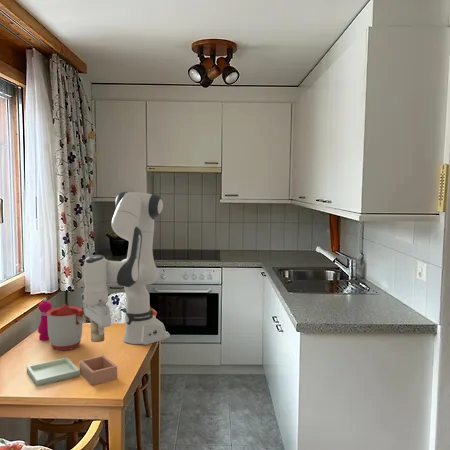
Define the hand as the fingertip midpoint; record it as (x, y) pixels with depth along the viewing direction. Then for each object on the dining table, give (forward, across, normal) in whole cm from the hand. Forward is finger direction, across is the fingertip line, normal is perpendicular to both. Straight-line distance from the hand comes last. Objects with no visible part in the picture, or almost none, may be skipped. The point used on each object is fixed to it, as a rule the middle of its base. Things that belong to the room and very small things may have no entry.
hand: (97, 332), depth 177 cm
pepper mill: (+18, +56, +6) cm, 59 cm away
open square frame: (+18, 0, +1) cm, 18 cm away
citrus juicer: (+18, +39, +1) cm, 43 cm away
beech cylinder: (+3, 0, 0) cm, 3 cm away
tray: (+17, +12, +15) cm, 25 cm away
